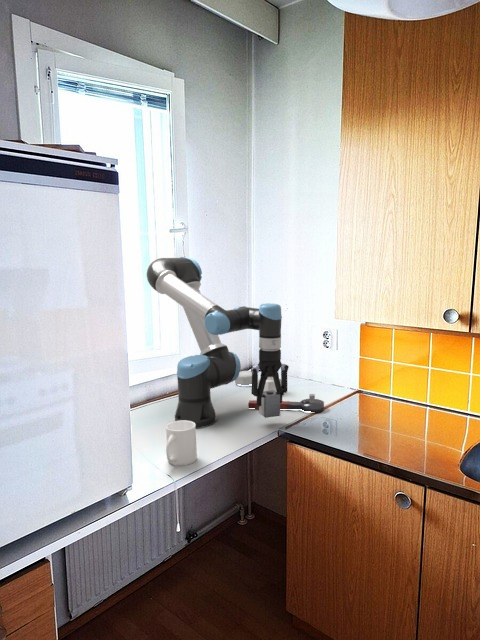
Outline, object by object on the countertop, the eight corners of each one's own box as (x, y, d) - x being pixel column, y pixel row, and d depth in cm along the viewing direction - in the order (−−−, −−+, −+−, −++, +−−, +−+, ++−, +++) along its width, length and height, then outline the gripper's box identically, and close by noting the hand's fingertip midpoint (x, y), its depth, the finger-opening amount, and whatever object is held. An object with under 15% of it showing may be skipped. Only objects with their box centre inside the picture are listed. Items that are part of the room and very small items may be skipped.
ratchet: (247, 411, 178) (247, 396, 178) (250, 404, 187) (250, 390, 186) (324, 414, 174) (324, 398, 173) (323, 406, 182) (323, 391, 182)
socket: (265, 417, 160) (265, 395, 159) (259, 412, 165) (259, 390, 164) (279, 416, 162) (280, 393, 161) (273, 411, 167) (273, 389, 166)
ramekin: (239, 380, 224) (239, 369, 224) (261, 382, 220) (260, 371, 219) (229, 386, 214) (229, 375, 213) (252, 388, 210) (252, 377, 209)
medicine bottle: (281, 395, 198) (281, 367, 197) (268, 398, 194) (268, 370, 193) (271, 391, 204) (271, 364, 203) (258, 394, 200) (257, 367, 199)
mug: (154, 468, 133) (152, 432, 131) (178, 452, 143) (176, 418, 142) (180, 473, 129) (178, 436, 127) (202, 456, 140) (201, 422, 138)
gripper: (249, 353, 153) (249, 420, 157) (298, 348, 159) (297, 413, 163) (241, 348, 160) (241, 413, 164) (289, 344, 166) (288, 406, 170)
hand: (269, 413), depth 163 cm, fingers closed on socket, 5 cm apart
